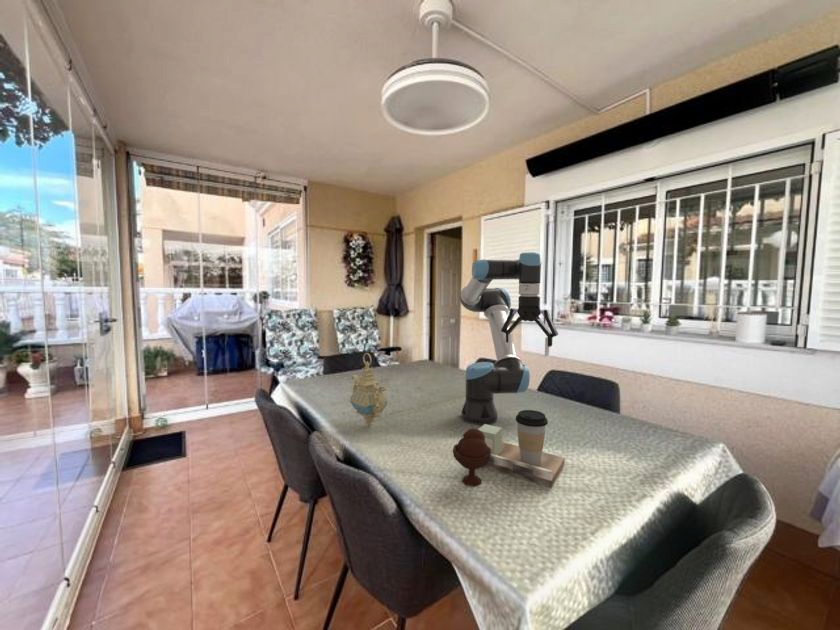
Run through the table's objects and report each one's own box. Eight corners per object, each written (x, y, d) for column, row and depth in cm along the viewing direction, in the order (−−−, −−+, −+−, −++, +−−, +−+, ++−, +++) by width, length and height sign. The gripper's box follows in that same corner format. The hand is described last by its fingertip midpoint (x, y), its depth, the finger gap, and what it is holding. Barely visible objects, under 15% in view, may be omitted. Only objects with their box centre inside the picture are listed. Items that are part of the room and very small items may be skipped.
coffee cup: (515, 468, 106) (516, 419, 104) (514, 453, 115) (514, 408, 114) (549, 471, 104) (550, 421, 102) (544, 455, 113) (545, 410, 112)
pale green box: (476, 454, 114) (476, 430, 114) (484, 447, 119) (484, 424, 119) (494, 459, 111) (494, 434, 110) (501, 451, 116) (501, 427, 115)
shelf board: (472, 464, 112) (472, 450, 112) (492, 445, 125) (492, 432, 125) (550, 488, 99) (551, 472, 98) (564, 463, 112) (564, 450, 111)
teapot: (342, 421, 148) (339, 350, 146) (366, 415, 156) (364, 347, 153) (372, 440, 130) (370, 359, 127) (397, 432, 137) (396, 355, 135)
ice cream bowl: (449, 472, 107) (449, 424, 106) (485, 470, 108) (486, 422, 107) (456, 492, 97) (456, 439, 95) (496, 490, 98) (496, 437, 96)
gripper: (493, 295, 133) (492, 351, 135) (562, 296, 118) (560, 359, 121) (500, 294, 139) (500, 348, 141) (568, 295, 124) (566, 355, 127)
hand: (528, 353), depth 131 cm, fingers open, 13 cm apart
